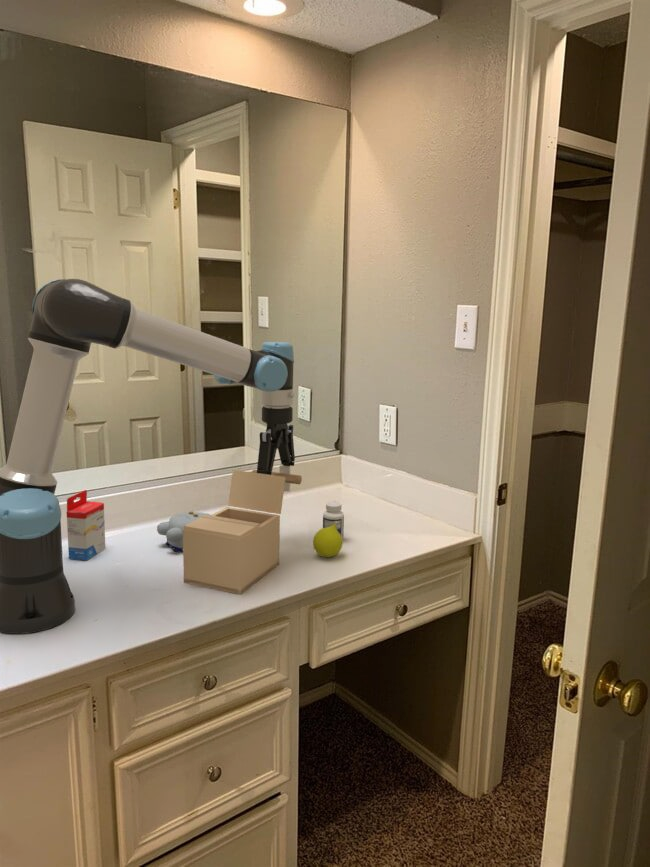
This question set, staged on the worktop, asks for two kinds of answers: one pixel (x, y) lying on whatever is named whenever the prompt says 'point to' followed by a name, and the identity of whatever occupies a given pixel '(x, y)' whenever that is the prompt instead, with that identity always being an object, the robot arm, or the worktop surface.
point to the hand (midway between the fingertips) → (276, 495)
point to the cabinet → (230, 549)
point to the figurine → (177, 528)
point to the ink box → (85, 527)
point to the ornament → (328, 541)
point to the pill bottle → (334, 517)
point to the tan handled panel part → (259, 490)
